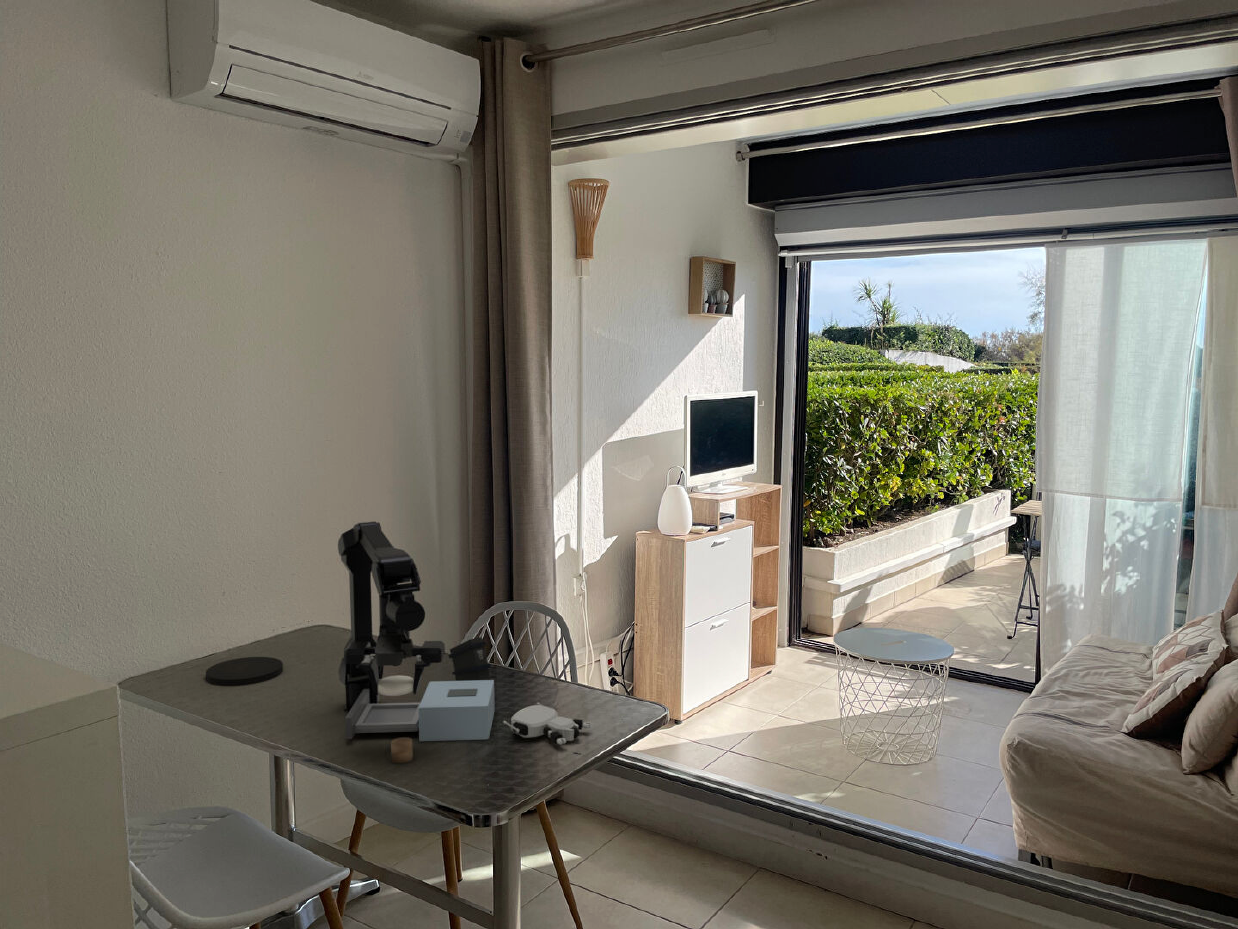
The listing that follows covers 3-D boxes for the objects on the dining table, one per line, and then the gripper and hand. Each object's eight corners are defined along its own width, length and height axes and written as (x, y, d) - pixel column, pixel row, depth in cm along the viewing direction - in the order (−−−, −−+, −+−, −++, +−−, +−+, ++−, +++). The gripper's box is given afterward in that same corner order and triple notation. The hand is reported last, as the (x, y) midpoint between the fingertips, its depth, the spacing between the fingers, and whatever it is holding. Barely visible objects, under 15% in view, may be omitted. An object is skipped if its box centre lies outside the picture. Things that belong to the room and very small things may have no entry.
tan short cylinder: (389, 763, 178) (389, 746, 177) (393, 755, 182) (392, 737, 181) (410, 763, 178) (410, 745, 177) (414, 754, 182) (413, 737, 181)
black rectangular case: (486, 705, 203) (469, 639, 207) (459, 715, 213) (443, 652, 217) (501, 701, 206) (484, 636, 209) (473, 711, 216) (457, 648, 219)
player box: (419, 741, 188) (418, 707, 188) (430, 712, 204) (429, 680, 203) (488, 739, 189) (488, 705, 188) (494, 710, 205) (493, 679, 204)
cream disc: (374, 696, 180) (374, 688, 180) (381, 683, 187) (381, 675, 187) (411, 695, 180) (410, 687, 180) (416, 682, 187) (416, 675, 187)
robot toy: (593, 737, 193) (534, 718, 200) (594, 716, 192) (535, 698, 199) (561, 758, 182) (499, 738, 189) (562, 736, 181) (500, 717, 189)
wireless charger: (298, 671, 234) (297, 664, 234) (235, 692, 219) (235, 684, 219) (253, 660, 243) (253, 652, 243) (190, 679, 228) (190, 671, 228)
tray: (345, 738, 187) (345, 718, 186) (364, 708, 204) (363, 689, 203) (415, 736, 187) (415, 716, 187) (428, 706, 205) (427, 687, 204)
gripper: (336, 630, 173) (338, 710, 175) (436, 629, 174) (438, 709, 176) (349, 613, 184) (352, 689, 186) (444, 612, 186) (445, 687, 187)
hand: (396, 694), depth 184 cm, fingers closed on cream disc, 7 cm apart
